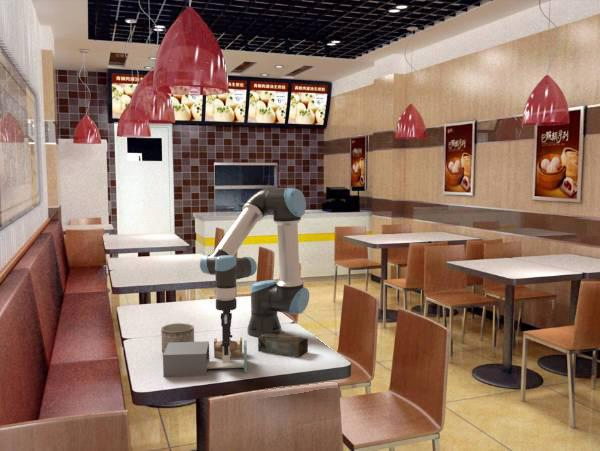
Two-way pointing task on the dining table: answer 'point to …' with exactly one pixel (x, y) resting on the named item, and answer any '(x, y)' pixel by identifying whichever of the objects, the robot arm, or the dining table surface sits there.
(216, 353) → the oak block
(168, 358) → the housing
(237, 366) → the tray
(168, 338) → the planter
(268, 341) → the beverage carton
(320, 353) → the dining table surface
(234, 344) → the walnut disc
